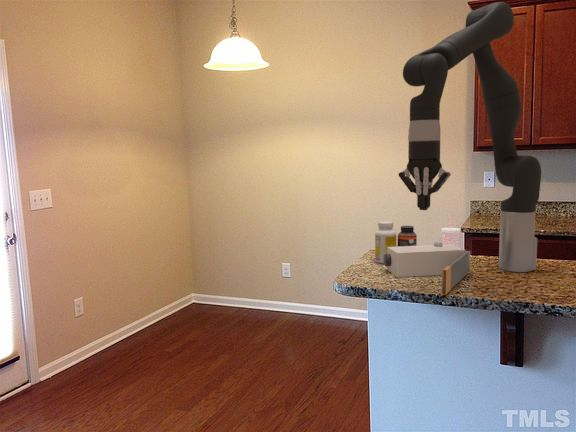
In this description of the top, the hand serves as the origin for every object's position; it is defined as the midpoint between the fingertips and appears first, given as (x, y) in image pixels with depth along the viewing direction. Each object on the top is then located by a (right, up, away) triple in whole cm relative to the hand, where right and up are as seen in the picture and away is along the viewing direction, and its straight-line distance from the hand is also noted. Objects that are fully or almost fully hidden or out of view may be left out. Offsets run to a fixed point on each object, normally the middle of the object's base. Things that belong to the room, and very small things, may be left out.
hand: (423, 209), depth 125 cm
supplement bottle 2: (+4, -16, +37) cm, 40 cm away
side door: (+11, -19, +8) cm, 24 cm away
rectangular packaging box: (+6, -18, +22) cm, 29 cm away
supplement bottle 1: (-2, -17, +36) cm, 39 cm away
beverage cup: (+21, -15, +44) cm, 51 cm away
